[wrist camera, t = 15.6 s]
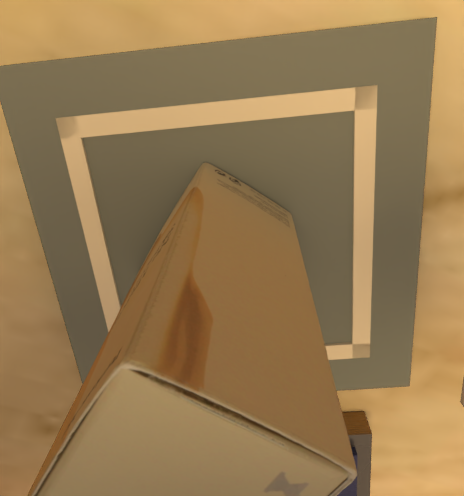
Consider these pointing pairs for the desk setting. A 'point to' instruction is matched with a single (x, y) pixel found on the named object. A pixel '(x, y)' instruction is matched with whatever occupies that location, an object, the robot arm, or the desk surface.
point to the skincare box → (209, 367)
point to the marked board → (239, 170)
